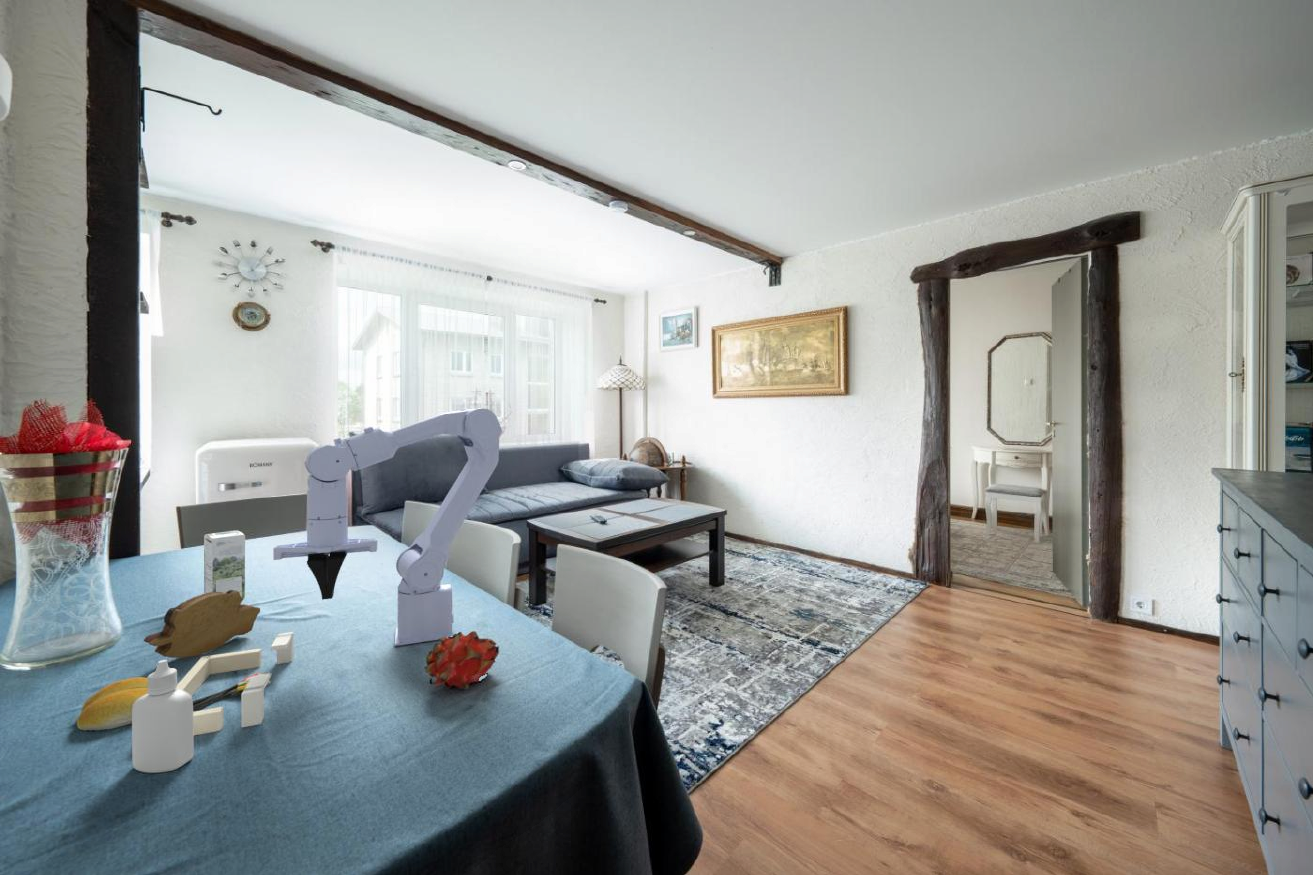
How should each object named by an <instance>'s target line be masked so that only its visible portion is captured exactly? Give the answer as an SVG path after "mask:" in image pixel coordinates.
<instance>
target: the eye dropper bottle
mask: <svg viewBox="0 0 1313 875" xmlns="http://www.w3.org/2000/svg"><path fill="white" fill-rule="evenodd" d="M147 678H148V694H146V695H144V696H142V697H140V698H139V699H137V700H136V701H135V702H134V704H133V707H132V723H131V746H132V750H131V752H132V754H131V755H132V767H133V769H134V770H137V771H139V772H142V773H148V774H152V773H153V774H157V773H165V772H171V771H175V770H177V769H179V768H180V767H182V766H184V765H185V764H186V763H189V761H191V760H192V759H193V758H194V753H195V750H194V749H195V748H194V747H195V746H194V738H195V735H194V736H193V712H194V711H193V701H194V700H193V696H192V697H191V695H190V694H188V693H187V692H185V691H183V690H181V689H179V688H176V687H177V685H178V670H177V669H176V668H172V667H169V664H168V660H167V659H162V660H159V661H157V665H156V669H155V671H153V672H152V673H150V674H149V675H148V676H147Z"/></svg>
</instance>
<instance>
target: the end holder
mask: <svg viewBox="0 0 1313 875" xmlns="http://www.w3.org/2000/svg"><path fill="white" fill-rule="evenodd" d="M262 653H263V652H262V648H255V649H253V648H252V649H249V650H248V649H247V650H242V651H234V652H227V653H226V652H225V653H218V654H213V655H212V654H211V655H204V656H201V657H200V659H199V660H198V661H197V662H195V664H194V665H193V666H192V667H191V669H190V670H188V672H187V673H186V674H185V675H184V677H183V678H182V679H181V680H180V681H179V682H177V687H176V688H179V689H181V690H183V691H185V692H187V693H188V694H190V695H191V697H192V698H193V695H194V694H195V693H196V692H197V691H198V690H199V688H200V687H202V684H203V683H204V682H205V681H206V680H207V678H208V677H209V675H215V674H221V673H228V672H229V673H230V672H233V671H234V672H235V671H241V670H246V669H254V668H259V667H261V665H262ZM223 727H224V706H218V707H213V708H206V709H202V710H201V709H200V710H196V711H193V736H194V737H195V736H198V735H200V736H201V735H204V734H209V733H215V732H220V731H221V730H222V729H223Z"/></svg>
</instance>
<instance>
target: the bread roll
mask: <svg viewBox="0 0 1313 875" xmlns="http://www.w3.org/2000/svg"><path fill="white" fill-rule="evenodd" d="M146 694H148V677H140V676H139V677H131V678H126V679H121V680H118V681H115V682H112V683H110V684H107V685H105V686H104V687H102V688H101V689H100V690H98V691H97V692H95V693H94V694H92V695H91V696H90V697H88V698H87V700H86V701H85V702H84V703H83V705H82V708H81V711H80V714H79V716H78V717H77V720H76V725H77V726H76V727H77V728H78V729H80V730H82V731H87V730H95V731H102V730H103V731H105V730H106V729H107V730H113V729H117V728H121V727H125V726H128V725H130V724H131V725H132V707H133V704H134V702H135V701H136V700H137V699H139V698H140V697H142V696H144V695H146Z"/></svg>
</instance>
